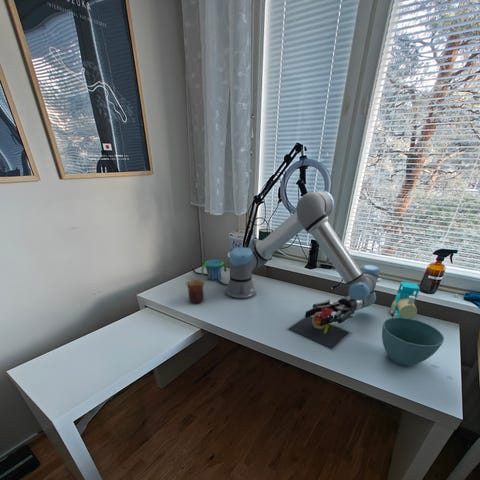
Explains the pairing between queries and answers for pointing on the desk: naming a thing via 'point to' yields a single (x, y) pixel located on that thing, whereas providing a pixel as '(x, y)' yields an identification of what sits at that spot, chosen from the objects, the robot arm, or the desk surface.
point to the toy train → (405, 301)
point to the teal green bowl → (410, 340)
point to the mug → (195, 290)
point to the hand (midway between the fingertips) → (313, 318)
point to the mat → (319, 333)
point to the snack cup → (214, 269)
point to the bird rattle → (321, 315)
